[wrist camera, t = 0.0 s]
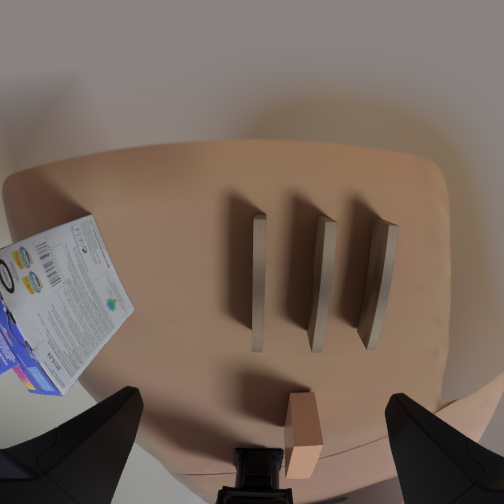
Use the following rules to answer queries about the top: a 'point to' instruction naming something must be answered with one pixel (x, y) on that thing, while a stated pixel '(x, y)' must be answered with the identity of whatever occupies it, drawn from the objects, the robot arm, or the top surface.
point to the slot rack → (322, 281)
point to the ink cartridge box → (58, 305)
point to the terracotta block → (302, 436)
